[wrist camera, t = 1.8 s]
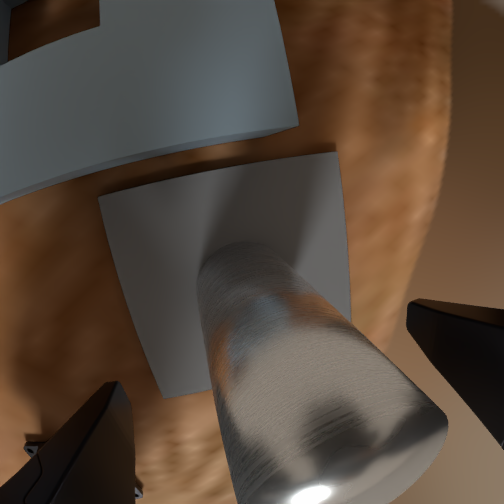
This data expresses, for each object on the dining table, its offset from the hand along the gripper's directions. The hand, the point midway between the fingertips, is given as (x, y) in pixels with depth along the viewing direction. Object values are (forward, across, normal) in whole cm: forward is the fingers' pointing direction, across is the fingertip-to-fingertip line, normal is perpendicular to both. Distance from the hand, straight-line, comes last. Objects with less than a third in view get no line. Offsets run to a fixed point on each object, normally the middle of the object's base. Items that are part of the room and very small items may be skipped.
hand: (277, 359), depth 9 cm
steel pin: (+5, 0, 0) cm, 5 cm away
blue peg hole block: (+6, +6, -13) cm, 15 cm away
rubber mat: (+6, 0, 0) cm, 6 cm away
